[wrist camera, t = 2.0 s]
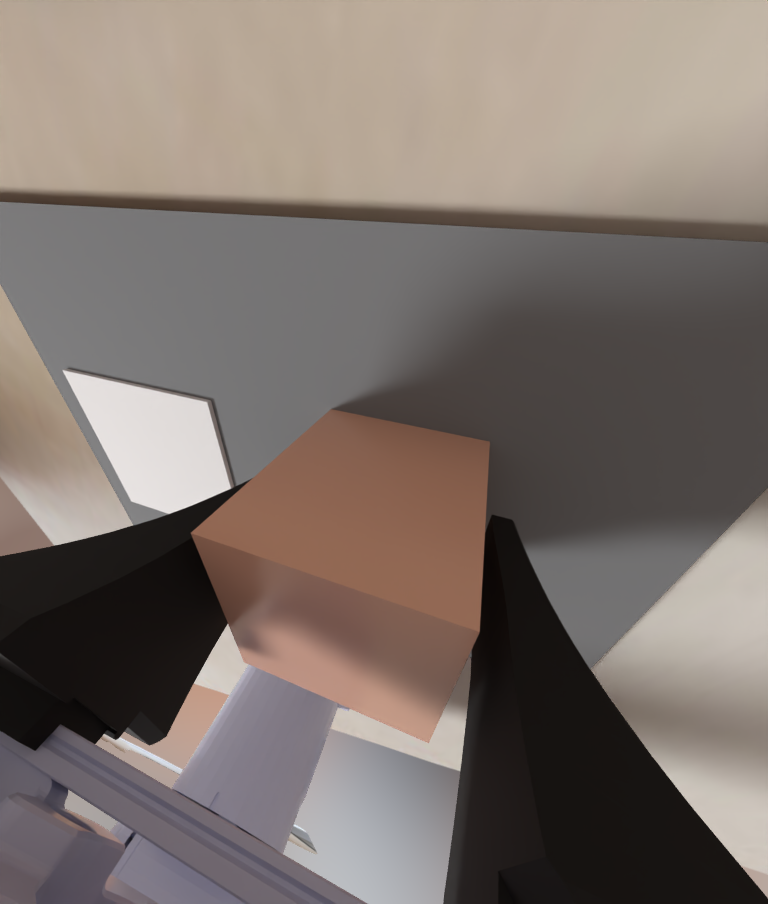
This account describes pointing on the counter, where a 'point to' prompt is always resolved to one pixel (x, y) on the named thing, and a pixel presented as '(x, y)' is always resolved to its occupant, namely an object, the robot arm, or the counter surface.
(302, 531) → the copper orange block
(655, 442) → the mat
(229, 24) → the counter surface
